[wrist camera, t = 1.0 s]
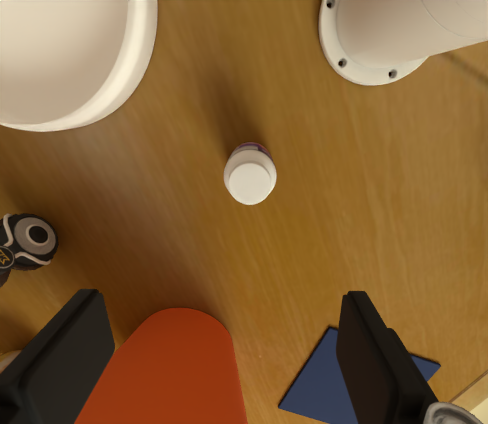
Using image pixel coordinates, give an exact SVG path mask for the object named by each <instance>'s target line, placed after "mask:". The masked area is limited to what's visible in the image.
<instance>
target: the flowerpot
mask: <svg viewBox="0 0 488 424" xmlns="http://www.w3.org/2000/svg"><path fill="white" fill-rule="evenodd" d="M74 424H248V422H247V417H246V412H245V406H244V401H243V396H242V391H241V385H240V380H239V375H238V369H237V364H236V359H235V354H234V348H233V343H232V339H231V337H230V335H229V332H228V331H227V330H226V328H225V327H224V326H223V325H222V324H221V323H220V322H219V321H218V320H217V319H215V318H213V317H212V316H210V315H208V314H206V313H204V312H201V311H199V310H195V309H190V308H179V307H178V308H168V309H165V310H161V311H158V312H156V313H154V314H152V315H151V316H149V317H148V318H147V319H146V320H145V321H144V322H143V323H142V324H141V325H140V326H139V327H138V328H137V329H136V330H135V331H134V332H133V334H132V335H131V336H130V337H129V338H128V339H127V340H126V341H125V342H124V343H123V344H122V346H121V347H120V348H119V349H118V350H117V351H116V352H115V353H114V354H113V355H112V357H111V359H110V361H109V362H108V364H107V366H106V368H105V369H104V371H103V373H102V375H101V377H100V378H99V380H98V382H97V384H96V385H95V387H94V389H93V391H92V393H91V394H90V396H89V398H88V400H87V401H86V403H85V405H84V407H83V409H82V410H81V412H80V414H79V416H78V417H77V419H76V421H75V423H74Z"/></svg>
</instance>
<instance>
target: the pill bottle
mask: <svg viewBox="0 0 488 424" xmlns="http://www.w3.org/2000/svg"><path fill="white" fill-rule="evenodd" d="M224 182H225V185H226V187H227V189H228V191H229V192H230V193H231V194H232V196H233V197H234V198H235V199H236V200H237V201H239V202H241V203H243V204H248V205H252V204H257V203H259V202H261V201H263V200H264V199H265V198H266V197H267V196H268V194H269V193H270V192H271V191H272V189H273V188H274V186H275V183H276V169H275V165H274V163H273V160H272V157H271V155H270V153H269V151H268V150H267V149H266V148H265V147H264V146H262V145H260V144H258V143H254V142H248V143H244V144H241V145H239V146H238V147H237V148H236V149H235V150H234V151H233V152H232V154H231V156H230V158H229V159H228V162H227V164H226V166H225V170H224Z"/></svg>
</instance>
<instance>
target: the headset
mask: <svg viewBox="0 0 488 424" xmlns="http://www.w3.org/2000/svg"><path fill="white" fill-rule="evenodd" d="M57 248H58V237H57V234H56V232H55V230H54V229H53V227H52V226H51V225H50V224H49V223H48V222H47V221H45V220H44V219H43V218H41V217H38V216H36V215H33V214H20V215H17V214H15V215H12V214H6V215H5V216H4V218H2V219H1V220H0V287H1V286H2V285H3V284H4V283H5V282H6V281H7V279H8V277H9V274H10V272H11V269H16V270H23V271H27V270H35V269H37V268H39V267H42V266H44V265H48V264H50V263H51V259H52V258H53V255H54V254H55V253H56V252H57Z"/></svg>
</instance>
